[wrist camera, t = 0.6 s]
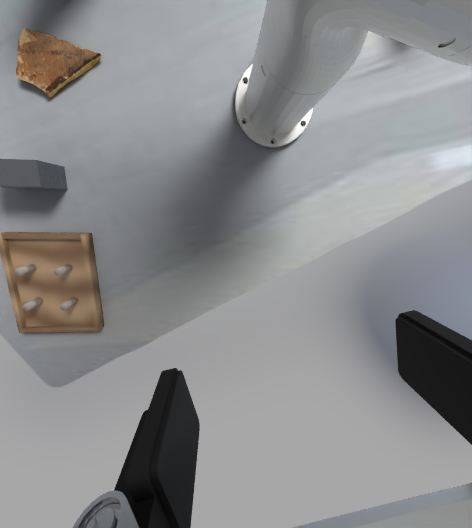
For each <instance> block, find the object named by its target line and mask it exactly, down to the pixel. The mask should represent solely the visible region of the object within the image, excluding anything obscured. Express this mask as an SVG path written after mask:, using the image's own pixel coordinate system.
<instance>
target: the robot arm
mask: <svg viewBox="0 0 472 528" xmlns="http://www.w3.org/2000/svg"><path fill="white" fill-rule="evenodd" d="M368 31H370V32H373V33H376V34H378V35H381V36H383V37H389V38H392V39H394V40H397V41H399V42H402V43H404V44H407V45H409V46H412V47H414V48H417V49H419V50H422V51H424V52H427V53H429V54H432V55H434V56H437V57H441V58H443V59H446V60H449V61H452V62H456V63H459V64H464V65H472V0H267V4H266V8H265V13H264V17H263V21H262V26H261V30H260V34H259V39H258V43H257V47H256V52H255V56H254V61H253V64H251V65H250V66H249V67H248V68H247V69H246V71H245V72H244V74H243V75H242V77H241V79H240V81H239V83H238V86H237V90H236V95H235V111H236V117H237V120H238V123H239V125H240V127H241V129H242V130H243V132H244V133H245V134H246V135H247V137H248V138H250V139H251V140H252V141H253V142H255V143H257V144H259V145H261V146H264V147H271V148H275V147H282V146H285V145H287V144H289V143H291V142H293V141H294V140H295V139H296V138H298V137H299V136H300V135H301V134H302V133H303V132H304V130H305V129H306V127H307V126H308V124H309V121H310V119H311V116H312V113H313V108H314V106H315V105H316V104H317V103H318V102H319V101H320V100H321V99H322V98H323V96H324V95H325V94H326V93H327V92H328V91H329V90H330V89H331V88H332V87H333V86H334V85H335V84H336V83H337V82H338V81H339V80H340V79H341V78H342V76H343V75H344V74H345V73H346V72H347V71H348V70H349V68H350V67H351V66H352V65H353V63H354V62H355V60H356V58H357V57H358V55H359V53H360V51H361V49H362V47H363V44H364V42H365V39H366V36H367V33H368ZM243 82H246V84H244V83H243ZM243 121H245V124H243ZM301 124H302V125H303V126H301ZM271 141H273V144H271ZM396 338H397V356H398V371H399V374H400V375H401V377H402V379H403V380H404V381H405V382H407V384H408V385H410V387H412V388H413V389H414V390H415V391H416V392H417V393H418V394H419V395H420V396H421V397H422V398H423V399H424V400H425V401H426V402H427V403H428V404H429V405H430V406H432V407H433V408H434V409H435V410H436V411H437V412H438V413H439V414H440V415H441V416H442V417H443V418H444V419H445V420H446V421H447V422H448V423H449V424H450V425H451V426H453V427H454V428H455V429H456V430H457V431H458V432H459V433H460V434H461V435H462V436H463V437H464V438H465V439H466V440H467V441H468V442H469V443H470V444H472V340H469V339H468V338H466V337H464V336H462V335H460V334H459V333H457V332H455V331H453V330H451V329H449V328H447V327H446V326H443V325H441V324H440V323H438V322H436V321H434V320H432V319H431V318H429V317H427V316H425V315H423V314H421V313H419V312H418V311H409V312H405V313H401V314H399V316H398V318H397V319H396ZM198 440H199V420H198V416H197V413H196V410H195V408H194V405H193V402H192V399H191V396H190V393H189V390H188V387H187V385H186V381H185V378H184V375H183V373H182V371H178V370H177V369H176V368H173V369H169V370H165V371H162V373H161V375H160V378H159V381H158V384H157V386H156V389H155V392H154V395H153V398H152V401H151V404H150V406H149V409H148V410H146V411H145V412H144V413H143V415H142V417H141V420H140V422H139V425H138V428H137V431H136V433H135V436H134V439H133V441H132V444H131V447H130V450H129V452H128V455H127V458H126V460H125V463H124V465H123V468H122V471H121V474H120V476H119V479H118V481H117V484H116V487H115V490H114V491H110V492H107V493H105V494H103V495H101V496H100V497H98V498H97V499H96V500H94V501H93V502H92V503H91V504H90V505H89V506H88V507H87V508H86V509H85V510H84V511H83V513H82V514H81V515H80V517H79V518H78V520H77V521H76V523H75V525H74V526H73V528H190V526H191V514H192V504H193V493H194V483H195V471H196V461H197V449H198ZM293 528H472V483H470V484H466V485H462V486H457V487H453V488H449V489H445V490H441V491H437V492H433V493H428V494H425V495H421V496H416V497H412V498H408V499H404V500H401V501H396V502H392V503H388V504H385V505H380V506H376V507H372V508H368V509H364V510H360V511H356V512H352V513H348V514H344V515H340V516H336V517H332V518H328V519H324V520H320V521H317V522H313V523H309V524H305V525H301V526H297V527H293Z"/></svg>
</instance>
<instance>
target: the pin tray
mask: <svg viewBox="0 0 472 528" xmlns="http://www.w3.org/2000/svg"><path fill="white" fill-rule="evenodd" d="M0 253H1V258H2V262H3V266H4V270H5V275H6V279H7V283H8V287H9V292H10V296H11V300H12V304H13V309H14V313H15V317H16V321H17V326H18V330H19V333H26V332H89V331H100V330H101V329H102V328H103V327H104V321H103V313H102V306H101V298H100V291H99V283H98V276H97V268H96V261H95V253H94V246H93V238H92V233H35V232H4V233H0Z"/></svg>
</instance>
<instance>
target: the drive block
mask: <svg viewBox="0 0 472 528" xmlns="http://www.w3.org/2000/svg"><path fill="white" fill-rule="evenodd" d="M0 187H8V188H29V189H67V183H66V176H65V169H64V167H62V166H58V165H54V164H50V163H46V162H42V161H38V160H16V159H0Z"/></svg>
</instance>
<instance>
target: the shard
mask: <svg viewBox="0 0 472 528" xmlns="http://www.w3.org/2000/svg"><path fill="white" fill-rule="evenodd" d="M18 43H19V45H18V58H17V69H16V75H17V78H18V79H21V80H23V81H26V82H29V83H31V84H33V85H35V86H37V87H38V88H40V89H41V90H43V91H44V92H45V93H46V95H47V96H49V97H53V96H54V95H55V93H56V92H57V91H58V90H59V89H60V88H62V87H64V85H65V84H66V83H68V82H70V81H72V80H74V79H76V78H77V77H79V76H80V75H82V74H83V73H85V72H86V71H88V70H90V69H91V68H92V67H93V66H94V65H95V64H96V63H97V62H98V61H99V59H100V58H101V54H99V53H96V52H93V51H90V50H87V49H82V48H80V47H78V46H75V45H73V44H70V43H68V42H66V41H63V40H60V39H58V38H56V37H53V36H49V35H46V34H44V33H40V32H37V31H36V32H33V31H31V30H28V29H23V30H22V32H21V36H20V38H19V42H18Z"/></svg>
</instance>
